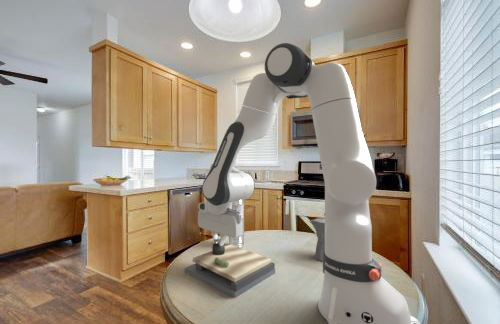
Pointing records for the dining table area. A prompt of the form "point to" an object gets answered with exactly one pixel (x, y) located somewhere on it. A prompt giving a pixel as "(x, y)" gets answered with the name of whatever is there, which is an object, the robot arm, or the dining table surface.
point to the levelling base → (228, 285)
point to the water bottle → (240, 207)
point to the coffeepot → (319, 237)
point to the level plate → (231, 261)
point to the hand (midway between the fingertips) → (218, 244)
